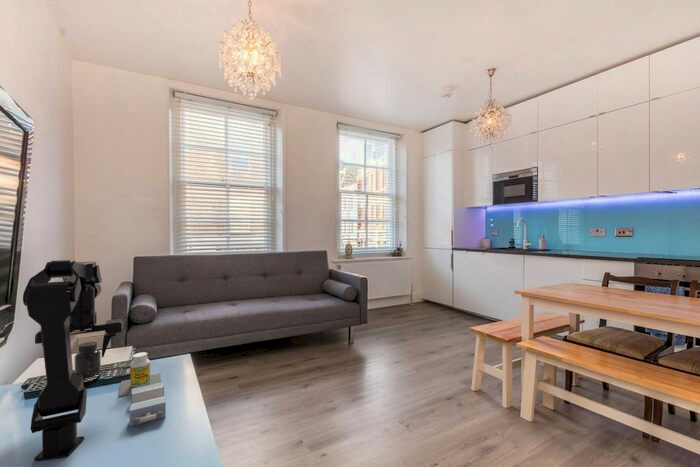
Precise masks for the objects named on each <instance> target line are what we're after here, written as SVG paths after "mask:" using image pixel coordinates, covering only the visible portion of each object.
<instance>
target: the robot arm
mask: <svg viewBox="0 0 700 467" xmlns="http://www.w3.org/2000/svg"><path fill="white" fill-rule="evenodd" d="M101 274H102V273H101V268H100V265H99V264H97V262H96V261H76V260H72V259H66V260H65V259H63V260H62V259H60V260H51V261H48V262H46V264H45V266H44V268H43V269H42V270H41V271H39V272H38V273H36V274H35V275H33V276H32V277H30V278H29V279H28V281H27V284H26V286H25V288H24V291H23V295H22V304H23V306H25V307H26V310H27V315H28V317H29V318H31V320H33V321H34V322H35V323H37V325H39V326H40V330H39V331H38V332H37V333H36V334H34V336H35V337H34V344H36V345H39V344H41V346H42V350H43V351H42V352H43V360H44V368H45V369H44V370H45V377H46V383H45V384H44V386H43V388H42V390H41V391H40V394H39V395H38V397H37V400H36V402H35V403H34V405H33V410H32V414H31V420H30V421H31V422H30V431H31V434H35V433H38V432H41V435H42V436H41V437H42V438H41V440H42V441H41V442H42V445H41V446H42V448H41V449H42V450H41V451H40V452H38V453H37V455H36V456H34V458H33V460H34V461H43V460H49V459H50V460H51V459H57V458H58V459H59V458H66V457H68V456H70V455H71V454H72V452H73V451H74V450H75V449H77V447H78V446H79V445H80V444H81V443H82V442H83V441H84V440H85V436H78V424H80V423H82V421H83V418H84V417H85V414H86V411H87V398H88V397H87V395H88V391H87V390H88V389H87V387H84V383H83V376H82V374H81V373H80V372H79V373H75V371H74V368H73V366H74V365H73V357H72V356H73V355H72V354H73V353H72V344H71V336H72V335H74V336H75V335H81V334H89V333H90V334H91V333H96V332H98V333H99V332H102V331H103V332H104V334H103V339H102V348H101V358H104V356H105V353H106V351H107V348H108V345H109V344H110V341H111V339H112V337H115V336H118V334H119V333H122V331H123V328H124V320H123V319H122V318H117V319H108V320H106V321H105V323H101V324H97V323H98V322H97V321H98V319H97V318H98V317H97V312H96V311H95V310H96V305H95V304H96V303H95V302H96V298H97V297H98V296H100V295H101V293H102V286H101V283H102V275H101ZM55 278H57V279H58V278H59V279H61V278H62V281H51V280H52V279H55ZM73 411H75V412H73ZM69 412H70V413H69ZM65 413H66V414H65ZM59 414H60V415H59ZM54 415H56V416H54ZM50 416H51V417H50Z"/></svg>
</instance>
